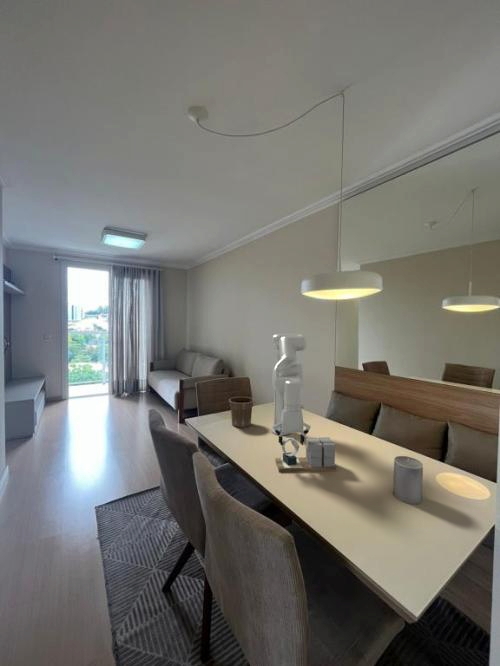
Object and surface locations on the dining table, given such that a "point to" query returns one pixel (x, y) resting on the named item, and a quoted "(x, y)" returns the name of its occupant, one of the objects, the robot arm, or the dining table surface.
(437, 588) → the dining table surface
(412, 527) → the dining table surface
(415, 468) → the pillar candle
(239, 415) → the plant pot
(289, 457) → the watch
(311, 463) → the wood and grey tray
